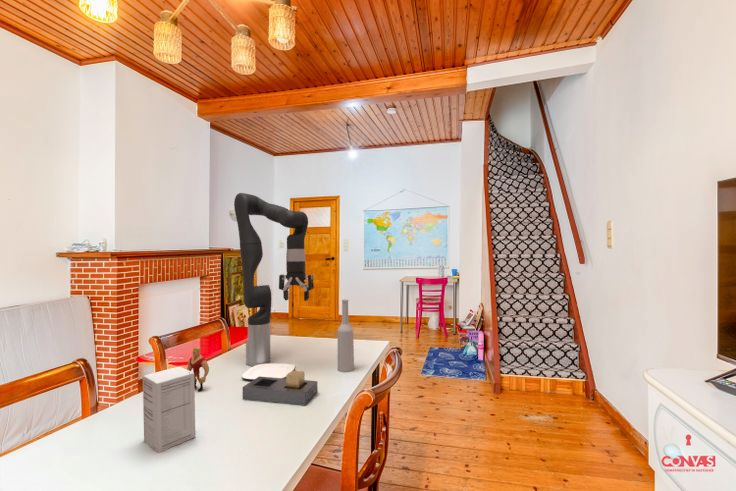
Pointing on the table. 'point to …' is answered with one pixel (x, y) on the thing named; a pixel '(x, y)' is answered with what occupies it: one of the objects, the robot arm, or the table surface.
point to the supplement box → (168, 408)
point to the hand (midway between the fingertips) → (296, 300)
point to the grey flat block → (278, 391)
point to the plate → (268, 371)
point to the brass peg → (295, 380)
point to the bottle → (345, 342)
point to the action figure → (198, 367)
